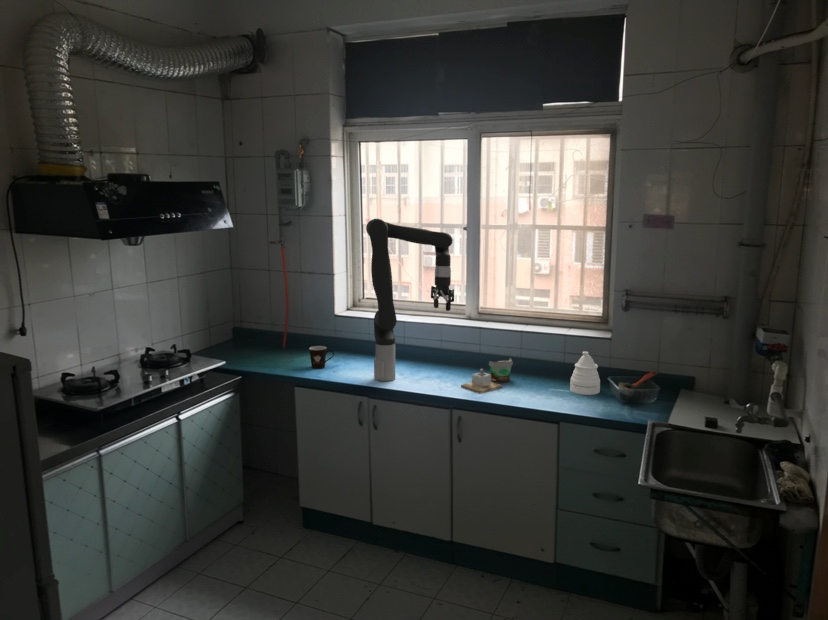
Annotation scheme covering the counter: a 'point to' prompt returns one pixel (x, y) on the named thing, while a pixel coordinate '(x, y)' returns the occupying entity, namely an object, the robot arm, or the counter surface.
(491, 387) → the block
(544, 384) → the counter surface
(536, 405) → the counter surface
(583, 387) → the honey pot
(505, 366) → the food container
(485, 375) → the grey square sleeve
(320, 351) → the coffee mug
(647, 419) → the counter surface
